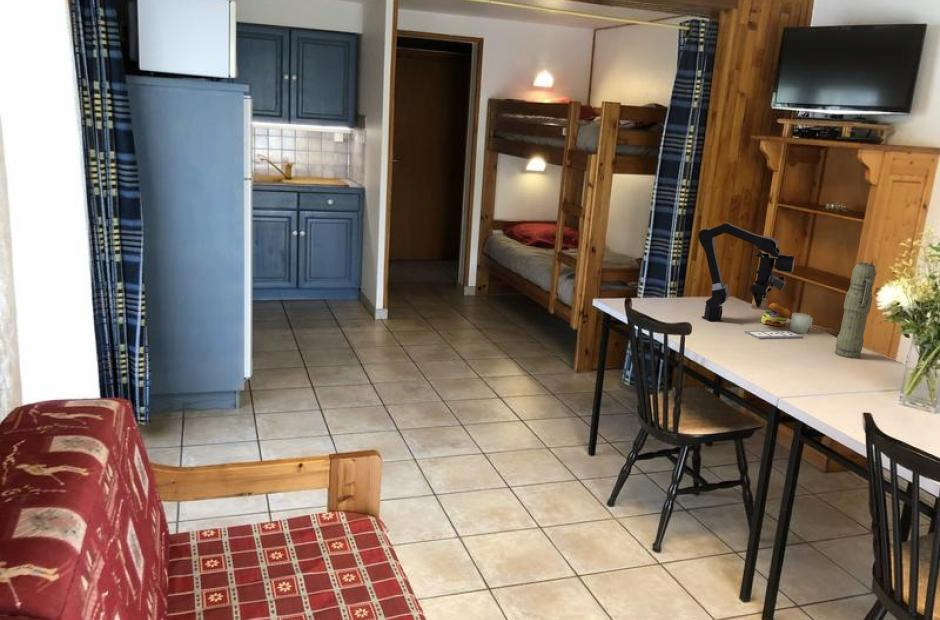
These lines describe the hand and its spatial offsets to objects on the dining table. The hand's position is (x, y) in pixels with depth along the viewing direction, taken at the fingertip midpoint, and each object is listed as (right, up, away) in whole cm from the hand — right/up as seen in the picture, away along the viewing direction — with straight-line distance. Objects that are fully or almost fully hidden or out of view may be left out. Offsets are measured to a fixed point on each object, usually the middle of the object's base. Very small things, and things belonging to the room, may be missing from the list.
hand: (759, 305), depth 319 cm
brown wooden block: (0, -1, 0) cm, 1 cm away
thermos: (+23, -19, -27) cm, 40 cm away
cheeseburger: (+10, -8, +11) cm, 17 cm away
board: (+3, -12, -7) cm, 14 cm away
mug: (+18, -11, +3) cm, 21 cm away
